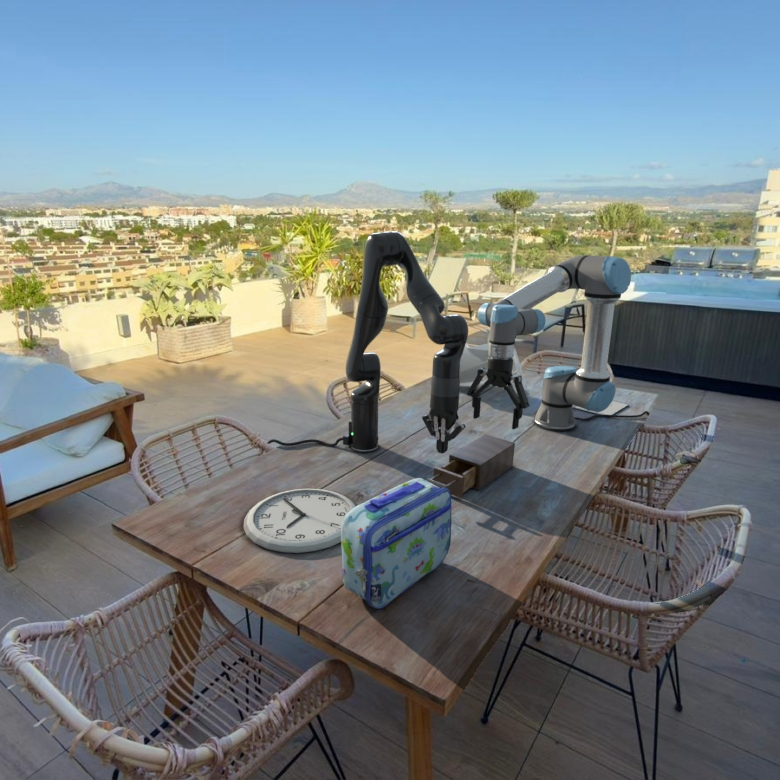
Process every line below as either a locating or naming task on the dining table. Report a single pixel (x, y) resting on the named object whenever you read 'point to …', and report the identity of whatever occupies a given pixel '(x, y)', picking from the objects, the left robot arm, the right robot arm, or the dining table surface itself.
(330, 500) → the wall clock
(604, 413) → the invitation card
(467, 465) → the drawer
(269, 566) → the dining table surface
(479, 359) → the white plastic object
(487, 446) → the cabinet
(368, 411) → the left robot arm
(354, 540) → the lunch box
